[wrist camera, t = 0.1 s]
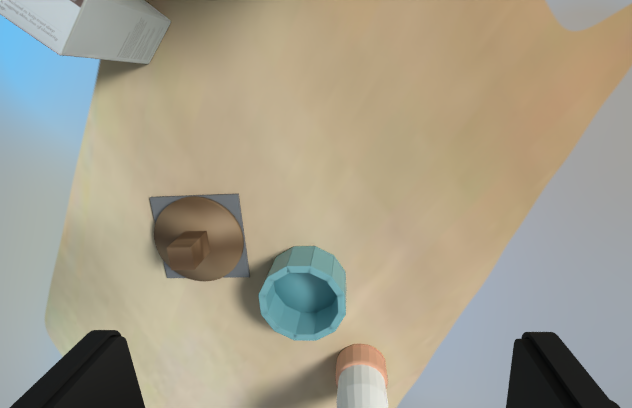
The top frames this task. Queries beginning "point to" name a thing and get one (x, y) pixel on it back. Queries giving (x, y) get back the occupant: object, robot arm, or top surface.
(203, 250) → the lid
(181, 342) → the top surface
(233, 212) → the mat
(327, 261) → the bowl
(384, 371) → the salt shaker
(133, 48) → the skincare box
